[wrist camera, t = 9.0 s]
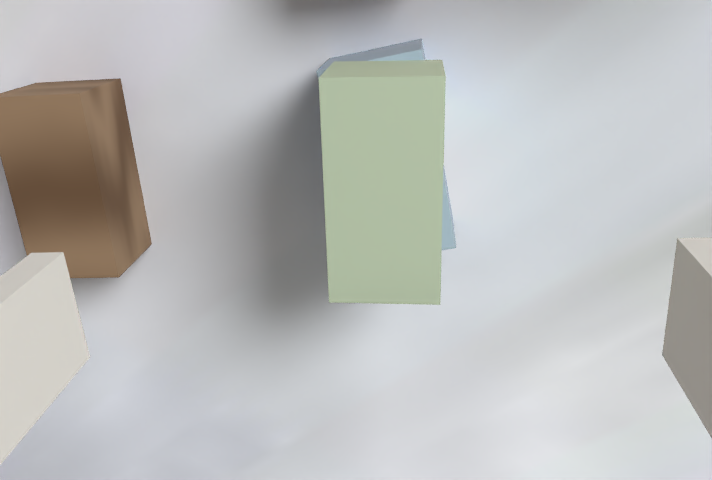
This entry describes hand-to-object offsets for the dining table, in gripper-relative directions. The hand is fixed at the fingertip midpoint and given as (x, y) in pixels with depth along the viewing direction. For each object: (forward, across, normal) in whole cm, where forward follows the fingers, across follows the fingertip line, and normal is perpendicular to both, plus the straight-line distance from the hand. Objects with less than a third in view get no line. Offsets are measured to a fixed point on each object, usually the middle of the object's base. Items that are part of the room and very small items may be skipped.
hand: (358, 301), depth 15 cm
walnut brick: (+16, -14, -1) cm, 22 cm away
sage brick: (+12, 0, -1) cm, 13 cm away
